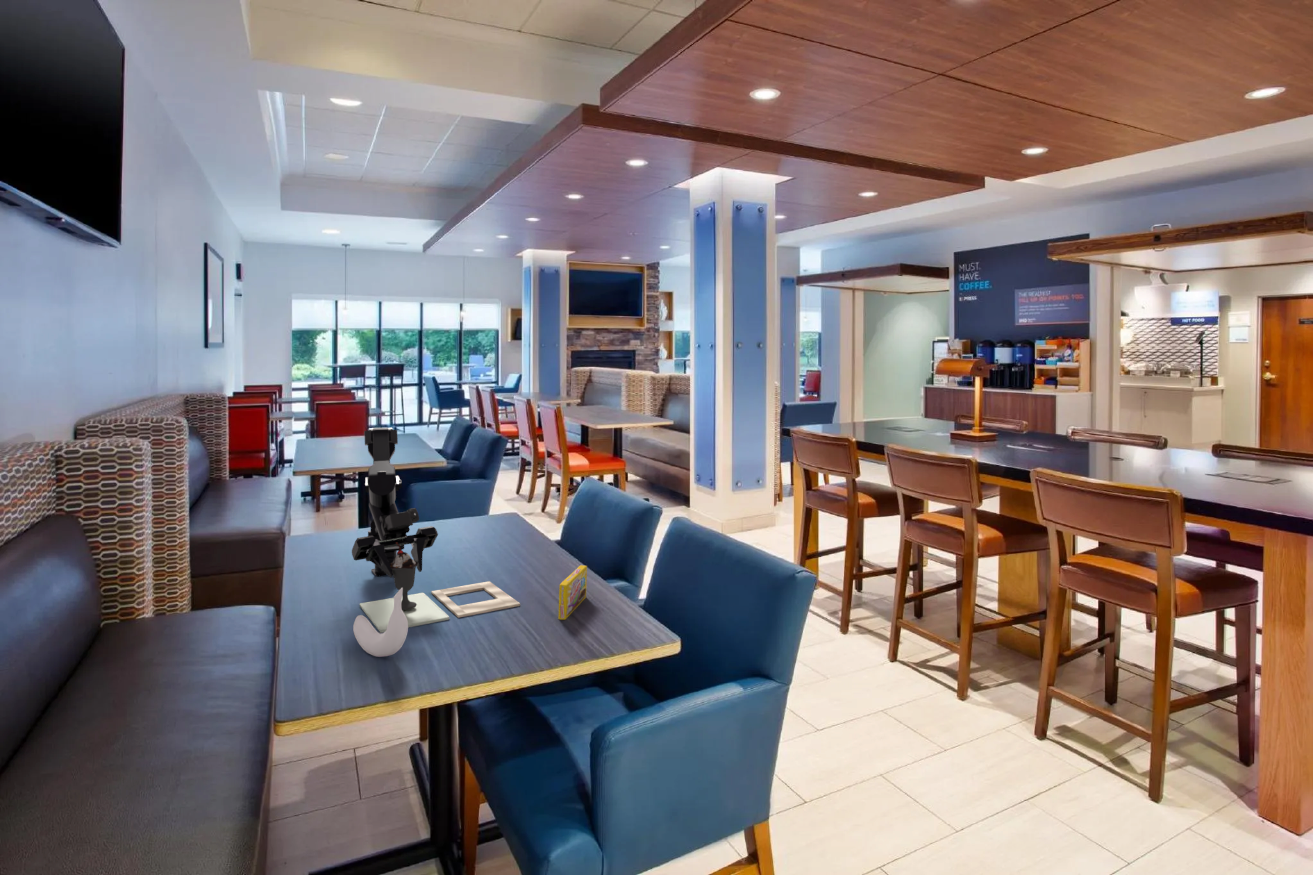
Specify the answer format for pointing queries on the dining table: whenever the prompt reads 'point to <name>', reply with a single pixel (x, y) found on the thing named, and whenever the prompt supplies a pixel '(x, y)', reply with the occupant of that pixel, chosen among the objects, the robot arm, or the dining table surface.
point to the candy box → (572, 592)
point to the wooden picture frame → (498, 603)
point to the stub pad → (404, 611)
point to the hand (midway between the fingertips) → (406, 573)
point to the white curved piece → (390, 638)
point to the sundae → (404, 576)
